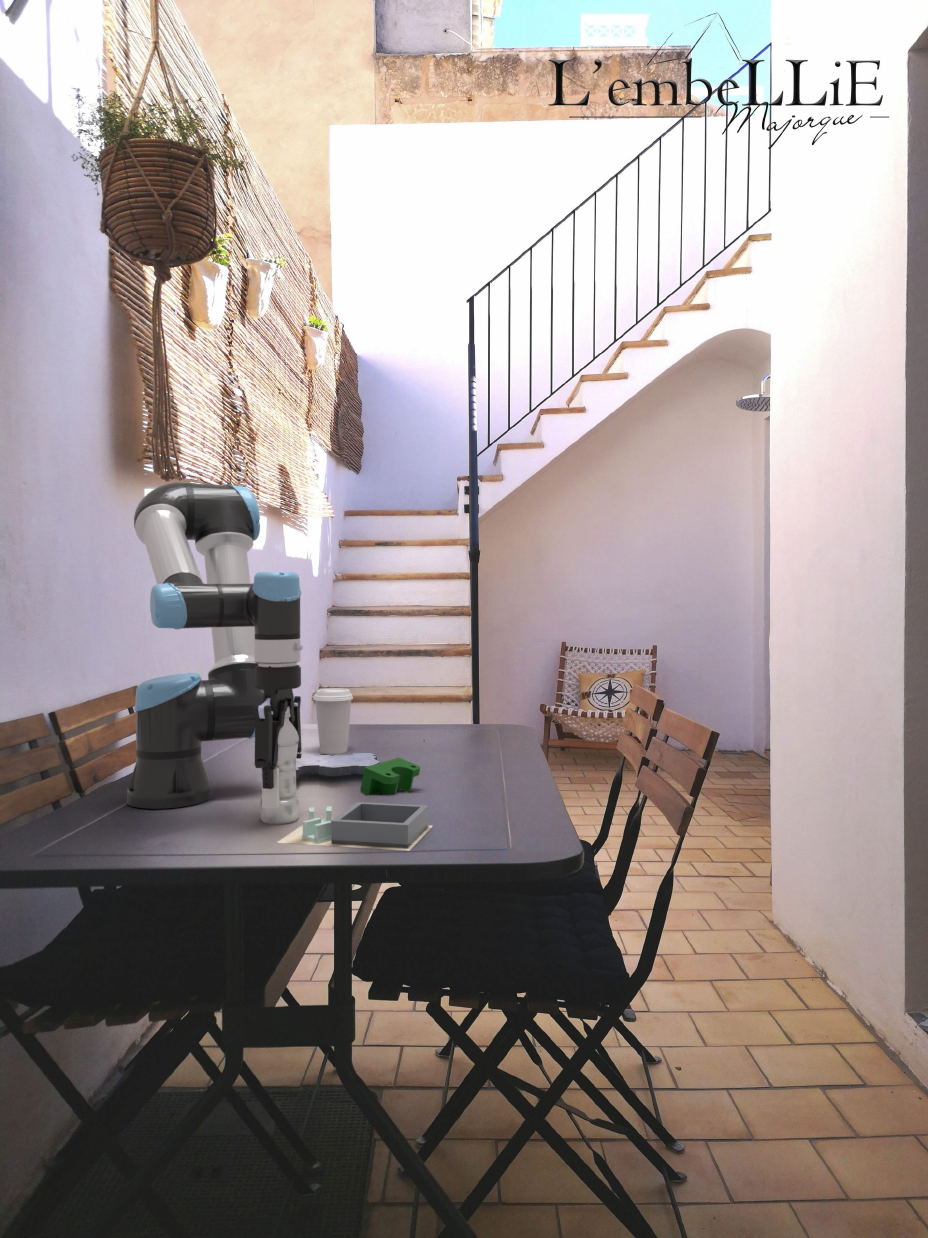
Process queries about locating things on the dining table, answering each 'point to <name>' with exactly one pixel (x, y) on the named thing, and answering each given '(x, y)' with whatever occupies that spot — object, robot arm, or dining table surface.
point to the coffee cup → (333, 719)
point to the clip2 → (316, 830)
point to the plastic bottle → (285, 777)
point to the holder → (380, 825)
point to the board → (297, 834)
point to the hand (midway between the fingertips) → (279, 802)
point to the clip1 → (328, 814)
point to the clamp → (389, 777)
